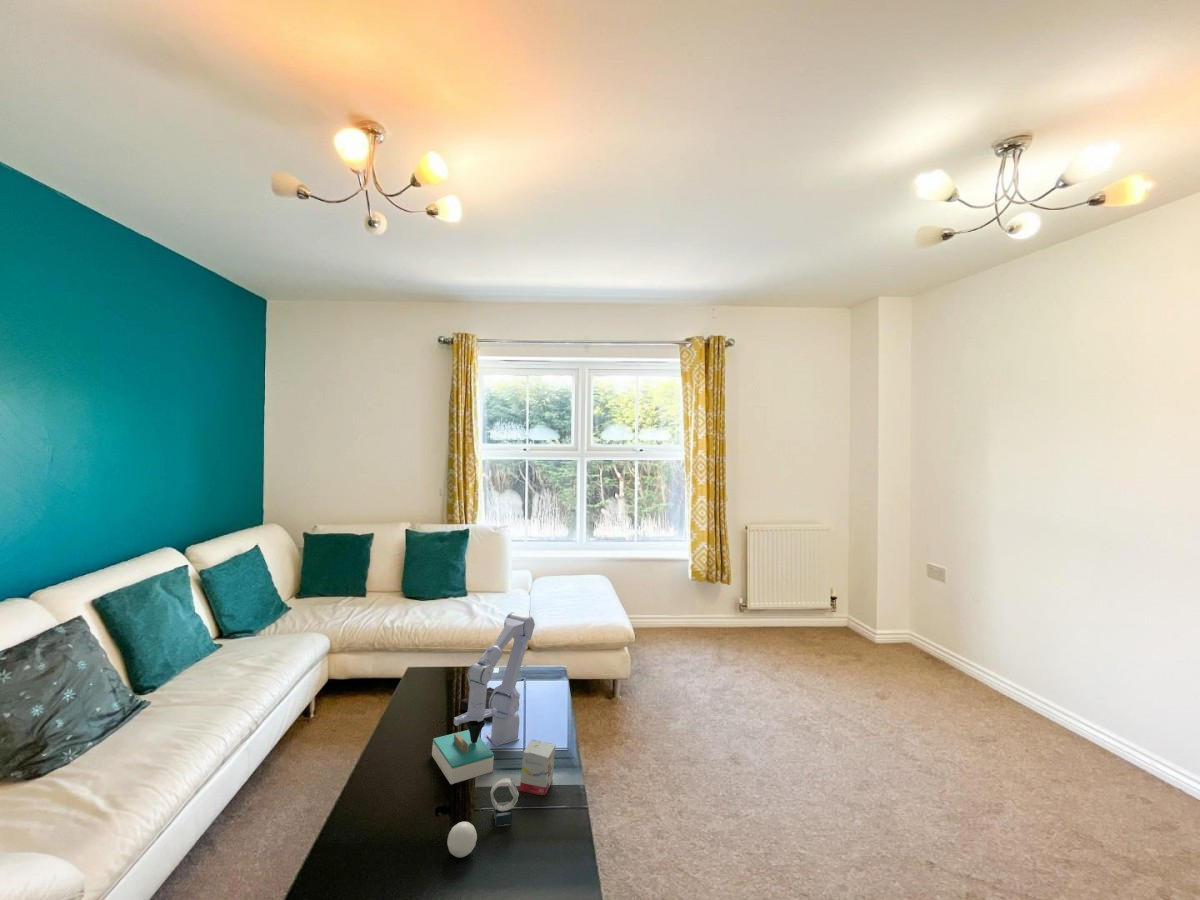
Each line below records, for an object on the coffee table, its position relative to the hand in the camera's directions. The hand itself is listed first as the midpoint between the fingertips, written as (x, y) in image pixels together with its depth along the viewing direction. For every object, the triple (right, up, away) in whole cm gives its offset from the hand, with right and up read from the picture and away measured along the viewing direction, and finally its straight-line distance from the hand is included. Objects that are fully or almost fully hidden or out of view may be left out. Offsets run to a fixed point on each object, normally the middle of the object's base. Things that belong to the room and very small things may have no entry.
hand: (473, 741), depth 172 cm
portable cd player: (-2, -8, +37) cm, 38 cm away
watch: (+15, -7, -27) cm, 32 cm away
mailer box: (-3, -6, -2) cm, 7 cm away
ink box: (+22, -8, -11) cm, 26 cm away
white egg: (+7, -6, -40) cm, 41 cm away
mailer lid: (-3, -1, -2) cm, 4 cm away
